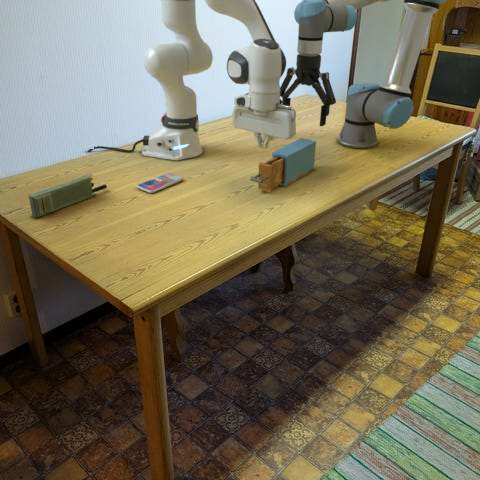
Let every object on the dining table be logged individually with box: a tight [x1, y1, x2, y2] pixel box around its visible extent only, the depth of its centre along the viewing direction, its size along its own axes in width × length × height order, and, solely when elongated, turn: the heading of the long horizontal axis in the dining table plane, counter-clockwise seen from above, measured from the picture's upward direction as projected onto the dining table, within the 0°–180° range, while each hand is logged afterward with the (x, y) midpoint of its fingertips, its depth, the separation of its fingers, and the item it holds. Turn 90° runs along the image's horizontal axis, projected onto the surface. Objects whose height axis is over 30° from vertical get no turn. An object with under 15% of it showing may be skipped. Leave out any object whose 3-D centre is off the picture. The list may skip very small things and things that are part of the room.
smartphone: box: [136, 172, 184, 194], centre depth 164 cm, size 7×1×15 cm
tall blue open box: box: [271, 137, 317, 188], centre depth 169 cm, size 19×6×10 cm, turn 144°
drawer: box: [249, 156, 285, 193], centre depth 161 cm, size 23×4×8 cm, turn 144°
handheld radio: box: [28, 173, 108, 219], centre depth 150 cm, size 7×3×25 cm
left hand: (262, 147), depth 151 cm, fingers closed
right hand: (304, 121), depth 167 cm, fingers open, 13 cm apart
